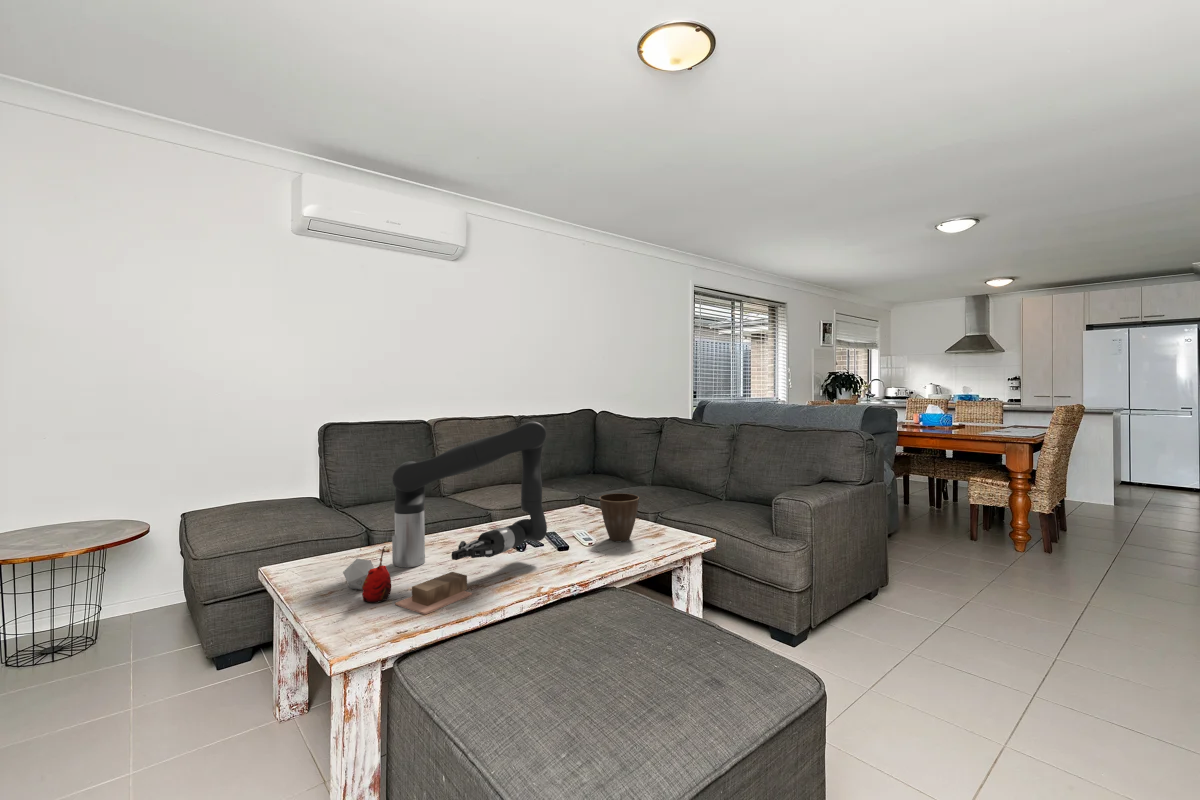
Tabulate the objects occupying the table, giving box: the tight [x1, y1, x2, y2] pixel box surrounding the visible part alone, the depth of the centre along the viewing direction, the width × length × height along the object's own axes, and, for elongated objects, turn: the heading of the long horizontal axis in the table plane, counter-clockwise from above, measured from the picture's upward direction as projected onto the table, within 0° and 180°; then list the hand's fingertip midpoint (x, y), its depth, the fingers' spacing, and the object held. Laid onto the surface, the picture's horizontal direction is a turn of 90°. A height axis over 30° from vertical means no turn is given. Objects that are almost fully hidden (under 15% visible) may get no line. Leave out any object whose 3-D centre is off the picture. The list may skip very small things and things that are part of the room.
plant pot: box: [599, 492, 640, 542], centre depth 208 cm, size 15×15×16 cm
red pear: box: [361, 545, 392, 604], centre depth 150 cm, size 8×7×15 cm
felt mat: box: [394, 590, 473, 616], centre depth 150 cm, size 16×12×1 cm
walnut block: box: [411, 571, 468, 606], centre depth 151 cm, size 4×6×14 cm
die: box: [342, 558, 375, 591], centre depth 159 cm, size 8×9×10 cm
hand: (453, 556), depth 155 cm, fingers closed
